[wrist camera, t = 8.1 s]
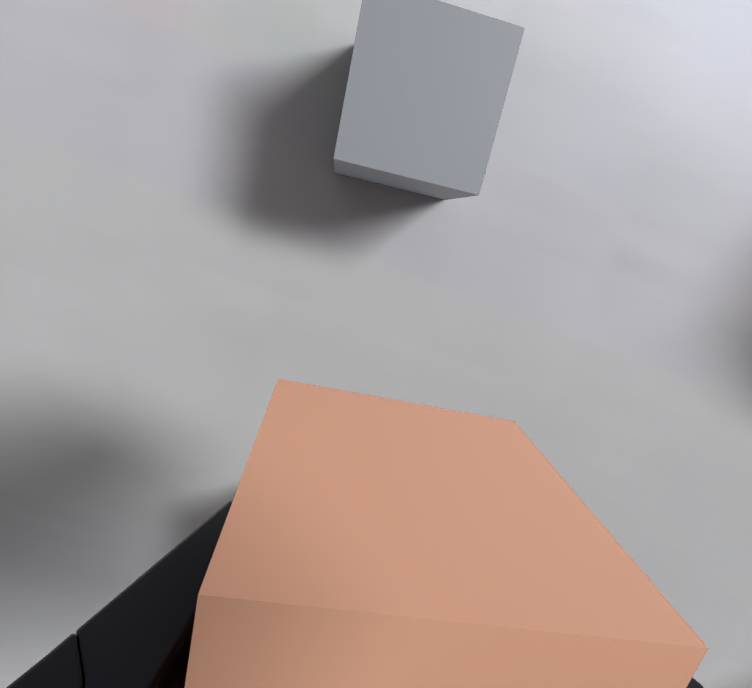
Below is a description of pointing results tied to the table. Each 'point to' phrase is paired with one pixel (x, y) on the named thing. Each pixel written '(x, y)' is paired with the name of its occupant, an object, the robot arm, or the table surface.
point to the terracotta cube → (420, 562)
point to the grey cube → (424, 96)
